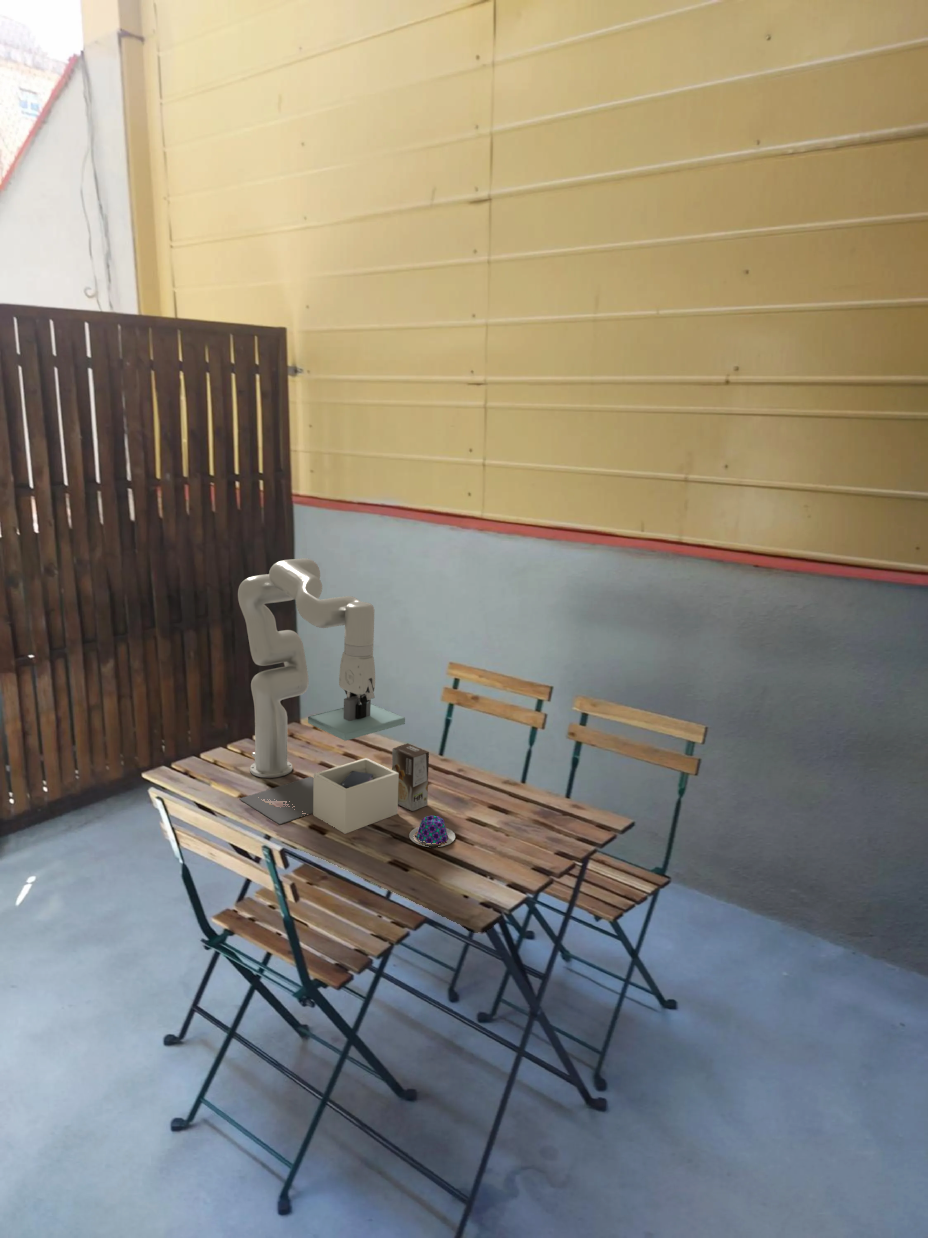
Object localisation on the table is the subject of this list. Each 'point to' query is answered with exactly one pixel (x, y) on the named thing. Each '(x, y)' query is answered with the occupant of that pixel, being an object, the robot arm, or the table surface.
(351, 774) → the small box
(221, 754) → the table surface
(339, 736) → the lid
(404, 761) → the coffee box
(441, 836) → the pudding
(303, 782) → the mat
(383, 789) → the box
